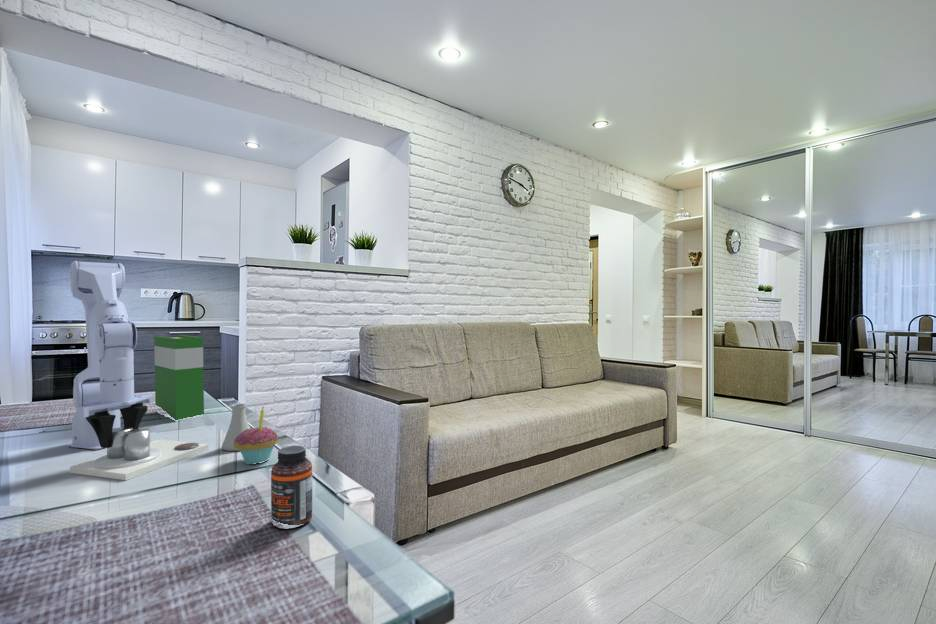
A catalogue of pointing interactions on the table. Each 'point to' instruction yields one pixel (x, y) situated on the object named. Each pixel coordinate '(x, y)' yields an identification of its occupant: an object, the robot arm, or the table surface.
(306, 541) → the table surface
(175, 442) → the scale
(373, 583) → the table surface
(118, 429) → the cylinder
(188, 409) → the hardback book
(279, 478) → the supplement bottle
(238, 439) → the cupcake
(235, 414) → the flask
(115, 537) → the table surface
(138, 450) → the cylinder
